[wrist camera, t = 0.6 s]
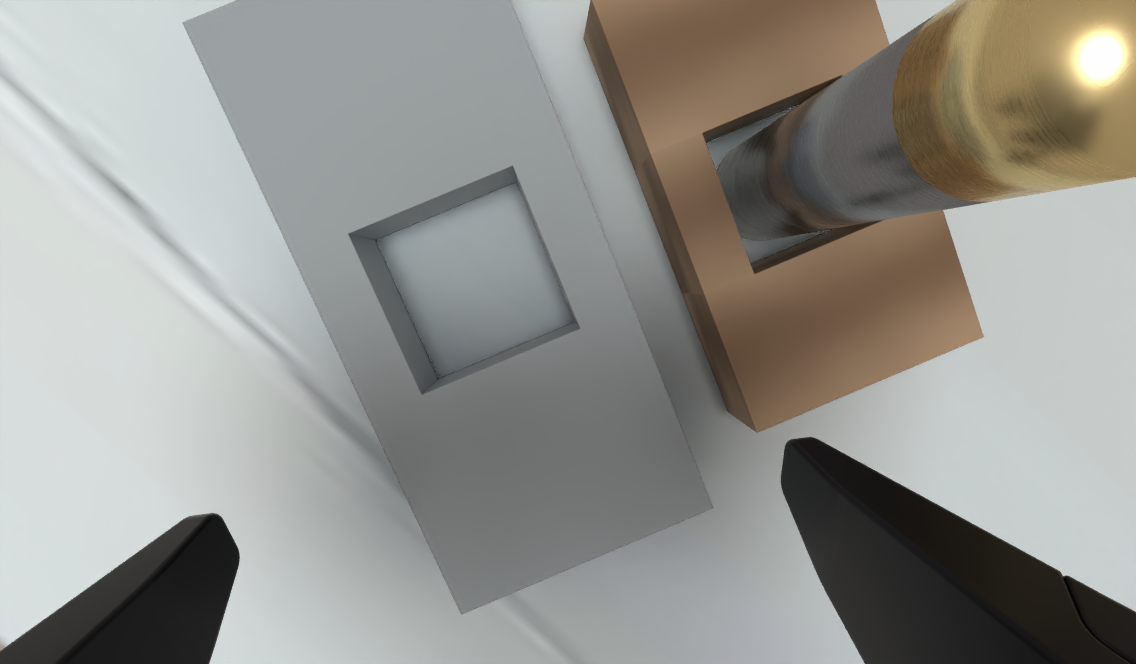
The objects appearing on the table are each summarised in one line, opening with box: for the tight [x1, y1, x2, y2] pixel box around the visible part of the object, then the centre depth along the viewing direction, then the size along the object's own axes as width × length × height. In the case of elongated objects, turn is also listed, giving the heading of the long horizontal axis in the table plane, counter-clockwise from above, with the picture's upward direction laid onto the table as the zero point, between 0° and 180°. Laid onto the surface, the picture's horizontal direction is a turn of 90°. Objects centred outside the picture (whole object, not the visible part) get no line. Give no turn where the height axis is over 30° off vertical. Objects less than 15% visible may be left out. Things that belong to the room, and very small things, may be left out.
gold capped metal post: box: [717, 0, 1136, 240], centre depth 15 cm, size 4×4×14 cm
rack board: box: [182, 0, 713, 615], centre depth 20 cm, size 22×10×3 cm, turn 22°
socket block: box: [584, 0, 984, 433], centre depth 20 cm, size 16×9×3 cm, turn 22°
